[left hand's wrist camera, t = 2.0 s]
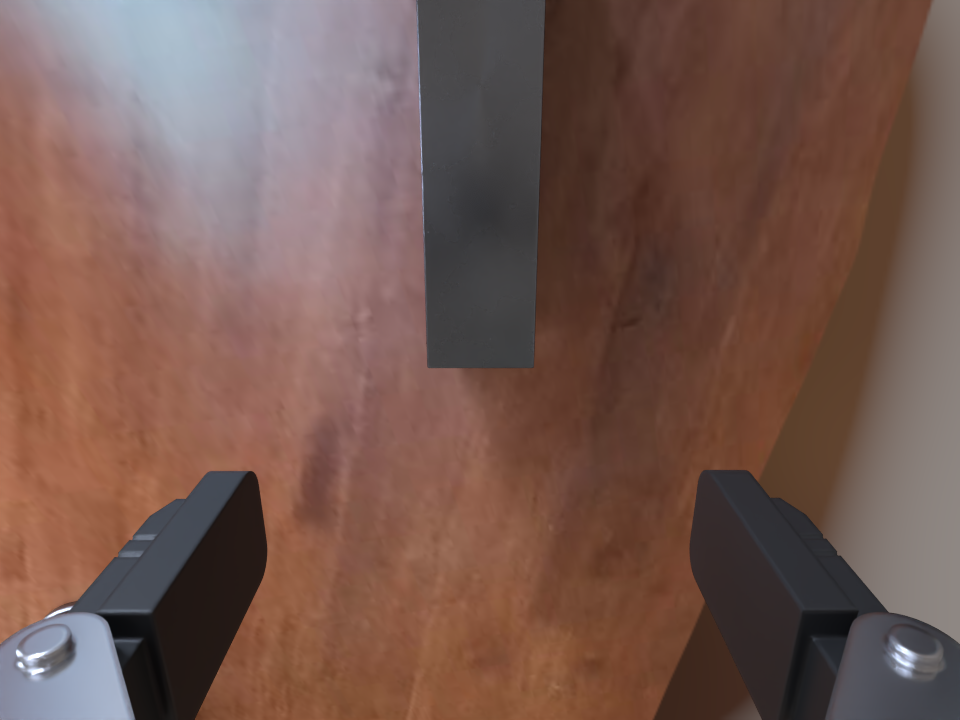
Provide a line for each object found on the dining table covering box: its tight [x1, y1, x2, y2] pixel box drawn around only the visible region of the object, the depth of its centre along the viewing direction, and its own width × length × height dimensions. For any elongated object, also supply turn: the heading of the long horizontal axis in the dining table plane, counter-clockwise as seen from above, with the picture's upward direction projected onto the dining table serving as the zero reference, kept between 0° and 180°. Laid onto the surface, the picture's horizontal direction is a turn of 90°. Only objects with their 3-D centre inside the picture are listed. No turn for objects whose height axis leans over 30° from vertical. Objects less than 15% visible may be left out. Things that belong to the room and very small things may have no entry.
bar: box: [416, 0, 546, 368], centre depth 30 cm, size 25×5×9 cm, turn 0°
